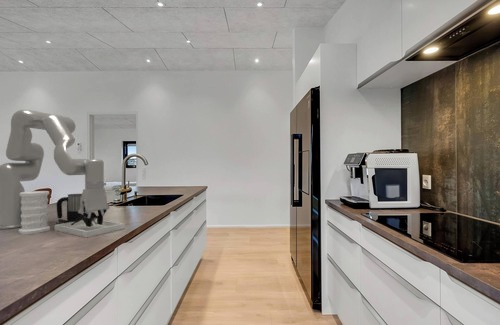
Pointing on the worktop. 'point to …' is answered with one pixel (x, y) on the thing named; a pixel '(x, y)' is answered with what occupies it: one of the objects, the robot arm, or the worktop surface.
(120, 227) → the tray
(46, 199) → the decorative container
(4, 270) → the worktop surface
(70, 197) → the milk frother
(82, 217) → the power plug
